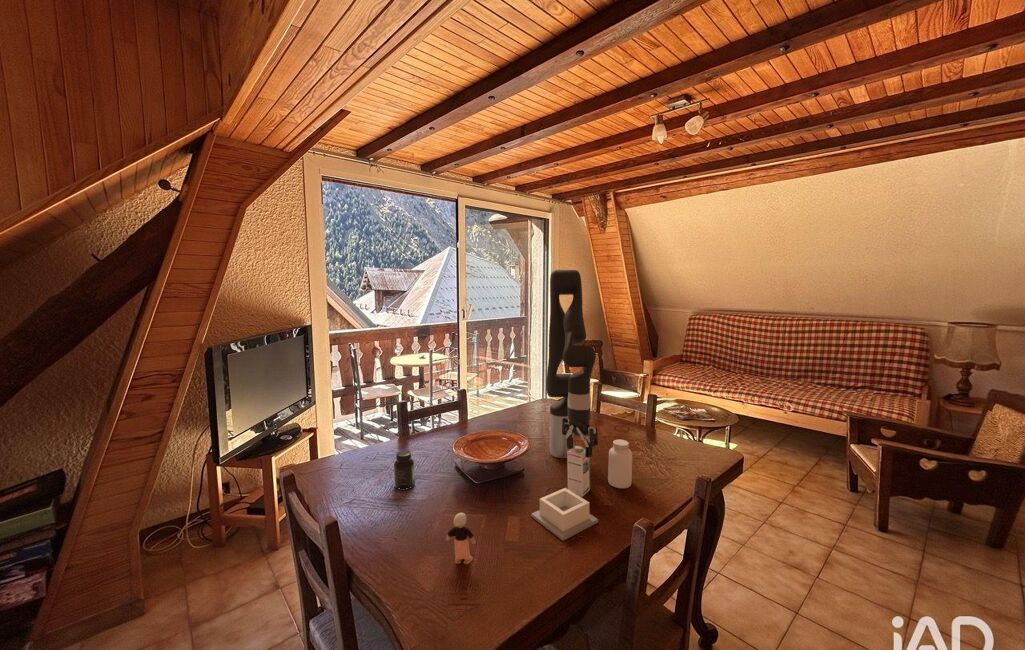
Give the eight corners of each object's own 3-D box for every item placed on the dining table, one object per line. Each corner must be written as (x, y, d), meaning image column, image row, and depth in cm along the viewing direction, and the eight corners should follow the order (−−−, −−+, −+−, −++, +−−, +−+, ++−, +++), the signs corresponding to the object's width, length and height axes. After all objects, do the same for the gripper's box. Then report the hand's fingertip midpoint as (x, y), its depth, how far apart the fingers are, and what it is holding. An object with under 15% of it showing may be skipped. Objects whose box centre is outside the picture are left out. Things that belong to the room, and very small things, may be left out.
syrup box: (582, 497, 132) (582, 455, 130) (566, 491, 135) (566, 450, 134) (590, 490, 136) (590, 449, 135) (575, 484, 140) (575, 444, 138)
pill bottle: (632, 490, 136) (633, 447, 134) (608, 488, 137) (609, 446, 136) (630, 478, 144) (631, 438, 142) (607, 476, 145) (608, 436, 143)
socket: (531, 516, 122) (531, 498, 121) (565, 501, 130) (565, 483, 129) (562, 540, 110) (562, 520, 110) (598, 522, 118) (598, 503, 118)
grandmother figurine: (476, 554, 105) (475, 509, 104) (476, 564, 102) (474, 517, 100) (447, 555, 105) (445, 509, 104) (445, 565, 101) (443, 518, 100)
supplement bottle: (419, 485, 141) (417, 452, 140) (401, 493, 136) (400, 459, 135) (408, 479, 146) (406, 447, 144) (391, 486, 141) (389, 453, 139)
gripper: (556, 402, 136) (556, 448, 138) (586, 413, 125) (586, 463, 126) (572, 398, 140) (572, 443, 142) (603, 408, 129) (603, 457, 131)
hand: (579, 452), depth 134 cm, fingers open, 8 cm apart
